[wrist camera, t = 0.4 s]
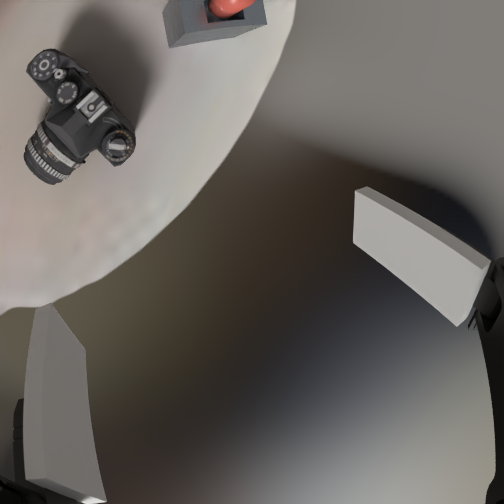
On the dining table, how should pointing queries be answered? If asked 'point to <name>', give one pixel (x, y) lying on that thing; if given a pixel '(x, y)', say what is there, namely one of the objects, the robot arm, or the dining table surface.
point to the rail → (207, 22)
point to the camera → (73, 120)
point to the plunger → (227, 7)
